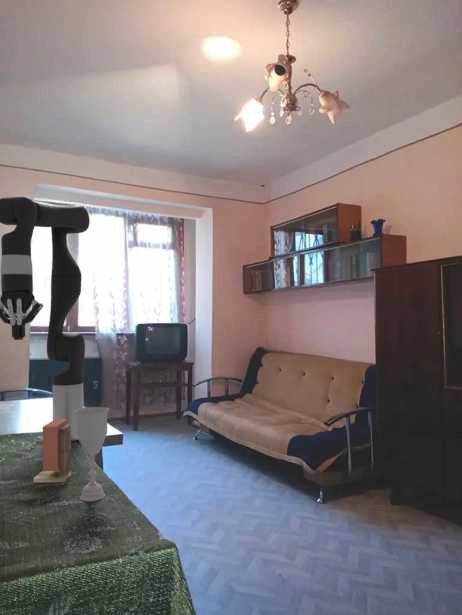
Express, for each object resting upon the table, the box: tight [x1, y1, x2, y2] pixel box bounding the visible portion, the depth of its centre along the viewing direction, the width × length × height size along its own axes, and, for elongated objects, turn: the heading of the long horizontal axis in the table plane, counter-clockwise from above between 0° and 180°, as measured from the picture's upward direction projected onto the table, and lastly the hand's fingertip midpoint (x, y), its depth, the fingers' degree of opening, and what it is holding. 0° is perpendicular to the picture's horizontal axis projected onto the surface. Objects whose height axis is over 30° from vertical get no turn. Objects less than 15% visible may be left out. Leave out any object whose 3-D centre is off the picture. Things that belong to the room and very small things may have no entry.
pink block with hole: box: [42, 419, 68, 471], centre depth 108 cm, size 8×3×10 cm, turn 2°
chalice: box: [74, 406, 110, 502], centre depth 97 cm, size 7×7×18 cm
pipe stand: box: [32, 424, 72, 484], centre depth 108 cm, size 5×7×12 cm
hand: (18, 339), depth 121 cm, fingers closed
